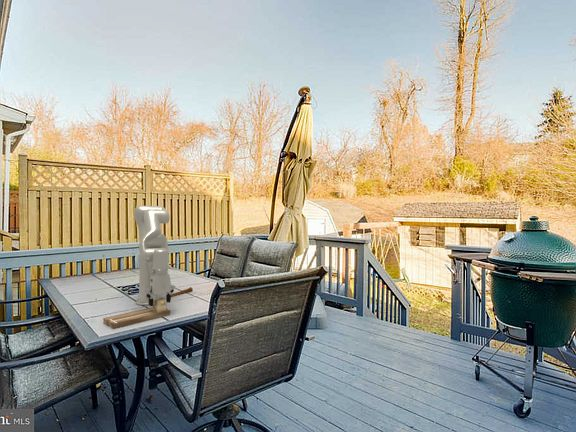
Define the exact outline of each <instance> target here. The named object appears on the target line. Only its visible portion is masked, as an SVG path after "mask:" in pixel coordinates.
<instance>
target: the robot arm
mask: <svg viewBox="0 0 576 432" xmlns="http://www.w3.org/2000/svg"><path fill="white" fill-rule="evenodd" d="M133 216H134V220H135V222H136V224H137V225H136V226H137V228H138V236H139V237H138V238H139V245H138V251H139V252H138V253H139V254H138V255H137V256H138V257H137V260H138V262H137V263H138V268H139V276H138V277H139V278H138V280H139V282H138V284H139V287H138V288H139V289H138V300H136V301H135V304H136V305H138V306H150V307H153V300H154V299H157V295H163V294H166V295H165V299H166V303H169V304H170V303H171V300H172V297H171V295H172V294H173V293H174V292H175V289H176V285H173V284H172V282H171V275H170V273H169V271H168V270H169V262H170V257H169V256H170V255H169V245H168V244H169V243H168V238H167V236H166V235H165V234H162V228H161V226H162V225H161V224H168V223H169V222H170V213H169V211H168V210H167V209H166V208H165V206H161V205H138V206H136V207H135V208H134V210H133Z"/></svg>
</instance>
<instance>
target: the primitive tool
mask: <svg viewBox="0 0 576 432" xmlns="http://www.w3.org/2000/svg"><path fill="white" fill-rule="evenodd" d="M191 291H192V292H193V291H194V289H193V288H192V287H191V286H190V287H189V288H186V289H184V290H180V291H178V292H173V293H172V295H171V298H173V297H177V295H178V296H181V295H184V294H187V292H188V293H192V292H191ZM180 294H181V295H180Z"/></svg>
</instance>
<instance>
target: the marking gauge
mask: <svg viewBox="0 0 576 432" xmlns="http://www.w3.org/2000/svg"><path fill="white" fill-rule="evenodd" d="M156 298H157V297H156ZM152 307H153V311H155V312H161V311H165V310H166V309H167V302H166V298H164V297H158V298H157V299H154V300H153V306H152Z"/></svg>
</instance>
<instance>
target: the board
mask: <svg viewBox="0 0 576 432" xmlns="http://www.w3.org/2000/svg"><path fill="white" fill-rule="evenodd" d="M167 316H171V310H170V309H168V308H166V310H165V311H161V312H155V311H153V306H150V307H148V308H142V309H138V310H135V311H130V312H125V313H120V314H117V315H112V316H107V317H103V319H102V320H103V321H102V322H103V324H104V325H105V324H106V326H107V327H109V328H111V329H112V330H116V328H117V329H120V327H121V328H125V327H128V326H131V325H132V326H133V325H135V324H139V323H143V322H147V321H151V320H155V319H159V318H163V317H167Z"/></svg>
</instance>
